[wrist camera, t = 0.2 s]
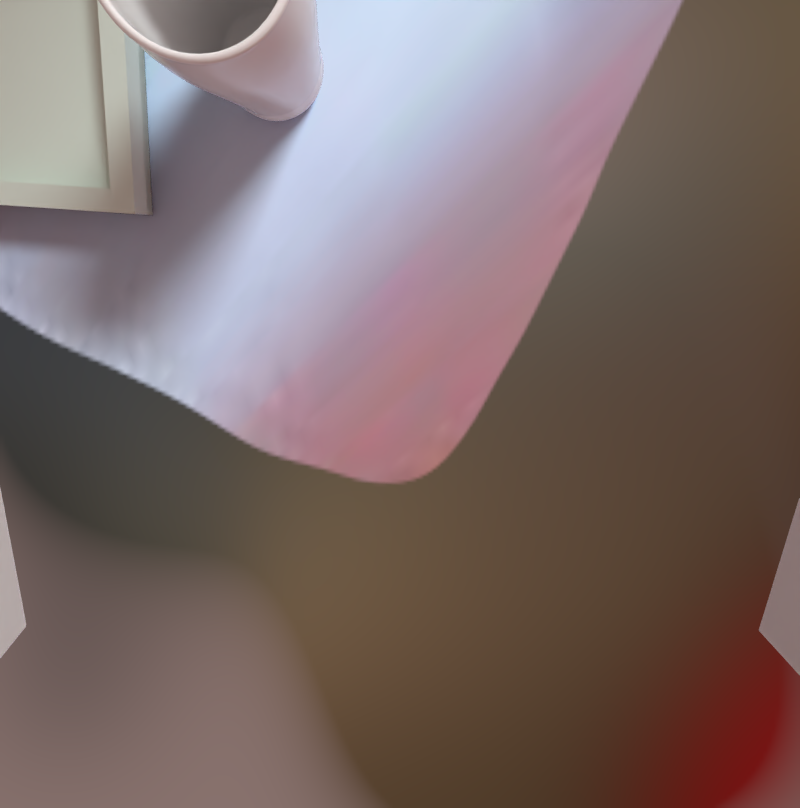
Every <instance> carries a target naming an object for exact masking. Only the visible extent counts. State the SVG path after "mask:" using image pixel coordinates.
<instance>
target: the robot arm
mask: <svg viewBox="0 0 800 808" xmlns="http://www.w3.org/2000/svg"><path fill="white" fill-rule="evenodd" d="M25 627H26V621H25V616H24V611H23V605H22V600H21V595H20V589H19V584H18V579H17V574H16V568H15V563H14V558H13V553H12V547H11V542H10V537H9V532H8V526H7V521H6V515H5V510H4V505H3V500H2V494H1V489H0V658H1V657H2V656H3V654H4V653H5V652H6V651H7V649H8V648H9V647H10V646H11V644H12V643H13V642H14V641H15V639H16V638H17V637H18V636H19V634H20V633H21V632H22V631H23V629H24V628H25ZM759 631H760V632H761V633H762V634H763V635H764V637H766V638H767V640H768V641H769V642H770V643H771V644H772V645H773V646H774V647H775V648H776V650H777V651H778V652H779V653H780V654H781V655H782V656H783V657H784V658H785V660H786V661H787V662H788V663H789V664H790V665H791V666H792V667H793V668H794V669H795V671H796V672H797V673H798V674H799V675H800V499H799V501H798V504H797V507H796V511H795V514H794V517H793V521H792V524H791V527H790V531H789V534H788V537H787V540H786V544H785V547H784V550H783V553H782V557H781V560H780V563H779V566H778V570H777V573H776V576H775V579H774V583H773V586H772V589H771V592H770V596H769V599H768V602H767V606H766V609H765V612H764V616H763V618H762V622H761V625H760V628H759Z"/></svg>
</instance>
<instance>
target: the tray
mask: <svg viewBox="0 0 800 808" xmlns="http://www.w3.org/2000/svg"><path fill="white" fill-rule="evenodd" d="M0 205H9V206H24V207H38V208H53V209H68V210H82V211H97V212H111V213H126V214H141V215H153V213H152V193H151V174H150V155H149V135H148V116H147V96H146V77H145V57H144V50H143V49H142V48H141V47H140V46H138V45H137V44H136V43H135V42H134V41H133V40H132V39H131V38H130V37H129V36H127V35H126V34H125V33H124V32H123V31H122V30H121V29H120V28H119V27H118V26H117V25H116V24H115V23H114V21H113V20H112V19H111V18H110V16H109V15H108V14H107V13H106V11H105V10H104V8H103V7H102V5H101V4H100V2H99V1H98V0H0Z"/></svg>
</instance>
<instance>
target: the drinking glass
mask: <svg viewBox="0 0 800 808" xmlns="http://www.w3.org/2000/svg"><path fill="white" fill-rule="evenodd" d="M98 1H99V2H100V4H101V5H102V7H103V8H104V10H105V11H106V13H107V14H108V15H109V16H110V18H111V19H112V20H113V21H114V23H115V24H116V25H117V26H118V27H119V28H120V29H121V30H122V31H123V32H124V33H125V34H126V35H127V36H129V37H130V38H131V39H132V40H133V41H134V42H135V43H136V44H137V45H138V46H140V47H141V48H142V49H143V50H144V51H145V52H146V53H148V54H149V55H150V56H151V57H152V58H153V59H155V60H156V61H157V62H158V63H160V64H161V65H162V66H164V67H165V68H167V69H168V70H169V71H171V72H172V73H174V74H175V75H177V76H178V77H180V78H181V79H183V80H185V81H186V82H188V83H190V84H192V85H194V86H196V87H198V88H200V89H202V90H204V91H206V92H208V93H211V94H213V95H215V96H217V97H220V98H222V99H224V100H227V101H229V102H231V103H234V104H236V105H238V106H240V107H242V108H244V109H245V110H246V111H248V112H249V113H251V114H252V115H254V116H256V117H258V118H261V119H264V120H269V121H285V120H289V119H292V118H295V117H297V116H299V115H300V114H302V113H303V112H305V111H306V110H307V109H308V108H309V107H310V106H311V105H312V103H313V102H314V100H315V99H316V97H317V95H318V93H319V91H320V88H321V85H322V80H323V72H324V65H323V57H322V52H321V49H320V45H319V33H318V19H317V4H316V0H98Z"/></svg>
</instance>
